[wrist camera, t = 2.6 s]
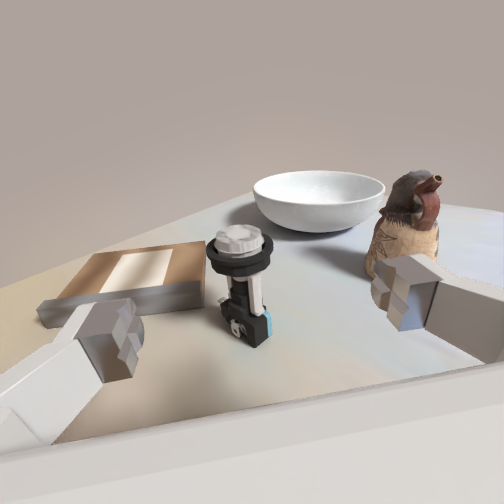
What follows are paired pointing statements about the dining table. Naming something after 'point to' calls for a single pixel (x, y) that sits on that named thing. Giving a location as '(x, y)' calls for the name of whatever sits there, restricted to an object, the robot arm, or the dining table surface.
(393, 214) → the figurine
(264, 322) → the push button
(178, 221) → the dining table surface
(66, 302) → the brown board with label
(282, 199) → the serving bowl
